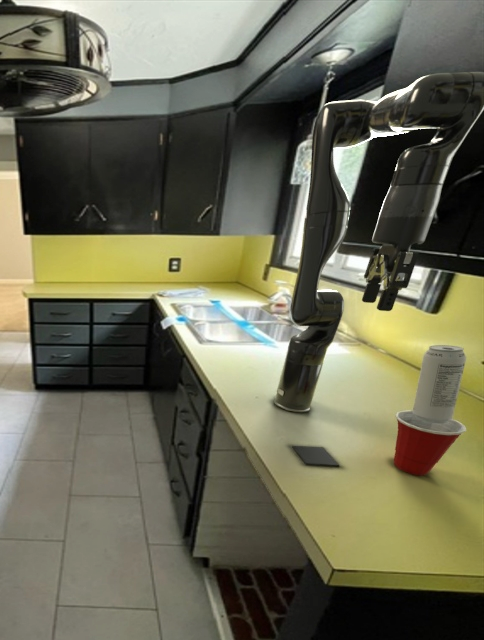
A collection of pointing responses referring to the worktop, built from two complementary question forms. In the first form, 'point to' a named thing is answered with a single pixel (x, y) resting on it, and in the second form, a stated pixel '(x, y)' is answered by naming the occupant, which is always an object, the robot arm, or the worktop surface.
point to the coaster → (315, 456)
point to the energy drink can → (439, 383)
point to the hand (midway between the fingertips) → (375, 306)
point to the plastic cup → (423, 442)
